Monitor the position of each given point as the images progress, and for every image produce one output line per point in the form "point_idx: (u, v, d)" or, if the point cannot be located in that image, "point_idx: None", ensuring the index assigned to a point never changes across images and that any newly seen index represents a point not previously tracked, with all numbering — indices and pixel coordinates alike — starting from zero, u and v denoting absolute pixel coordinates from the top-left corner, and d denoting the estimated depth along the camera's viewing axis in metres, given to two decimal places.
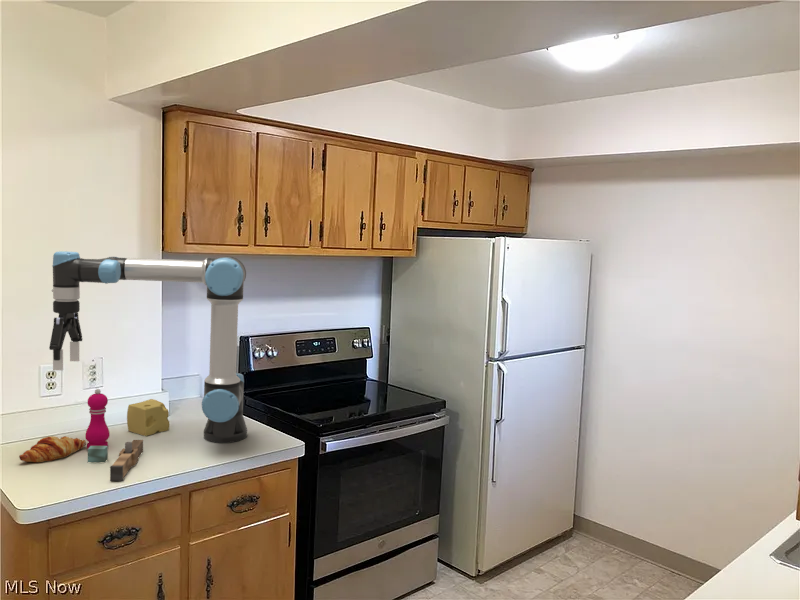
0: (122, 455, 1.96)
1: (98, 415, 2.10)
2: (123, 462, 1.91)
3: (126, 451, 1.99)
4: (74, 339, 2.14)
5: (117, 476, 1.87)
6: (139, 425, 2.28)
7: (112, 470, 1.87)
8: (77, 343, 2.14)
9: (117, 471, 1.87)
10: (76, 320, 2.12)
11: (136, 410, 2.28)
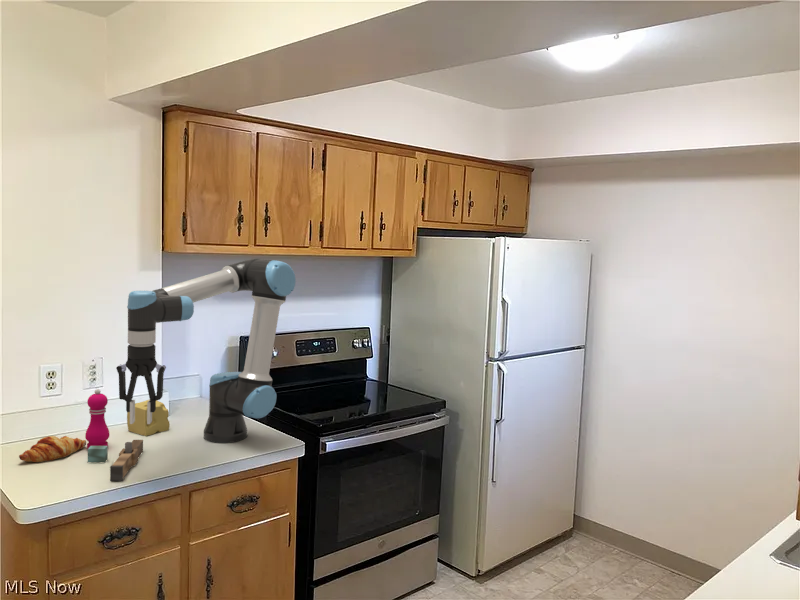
0: (122, 455, 1.96)
1: (98, 415, 2.10)
2: (123, 462, 1.91)
3: (126, 451, 1.99)
4: None
5: (117, 476, 1.87)
6: (139, 425, 2.28)
7: (112, 470, 1.87)
8: None
9: (117, 471, 1.87)
10: (158, 374, 1.88)
11: (136, 410, 2.28)
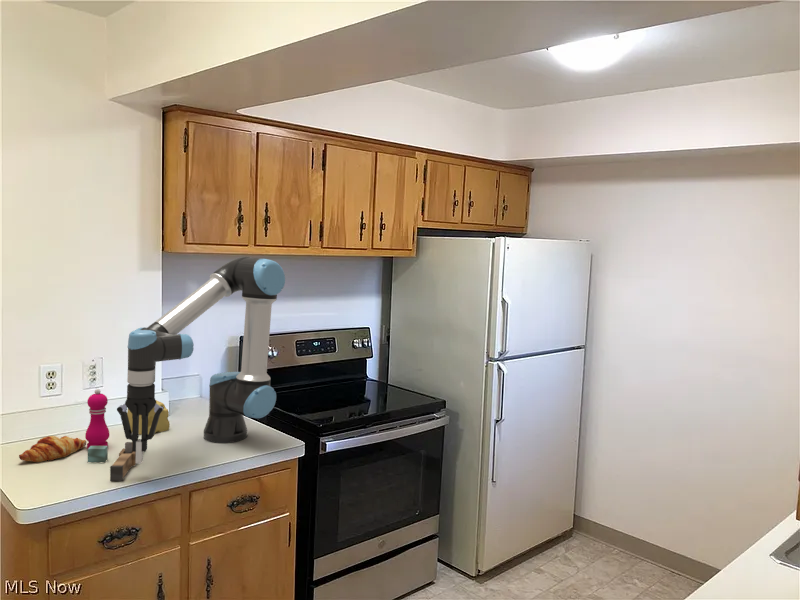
0: (122, 455, 1.96)
1: (98, 415, 2.10)
2: (123, 462, 1.91)
3: (126, 451, 1.99)
4: None
5: (117, 476, 1.87)
6: (139, 425, 2.28)
7: (112, 470, 1.87)
8: None
9: (117, 471, 1.87)
10: None
11: None
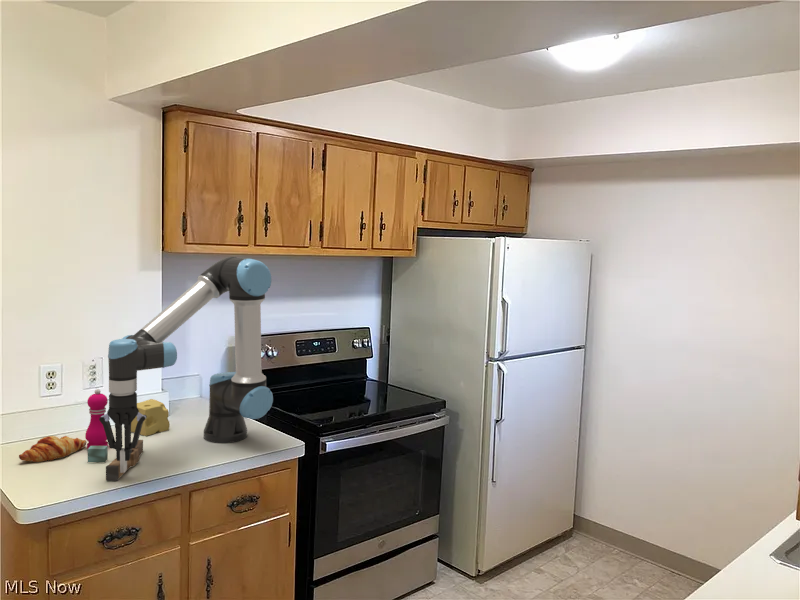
0: None
1: (98, 415, 2.10)
2: None
3: None
4: None
5: (112, 476, 1.87)
6: None
7: (108, 470, 1.87)
8: None
9: (112, 471, 1.87)
10: (137, 423, 1.88)
11: None
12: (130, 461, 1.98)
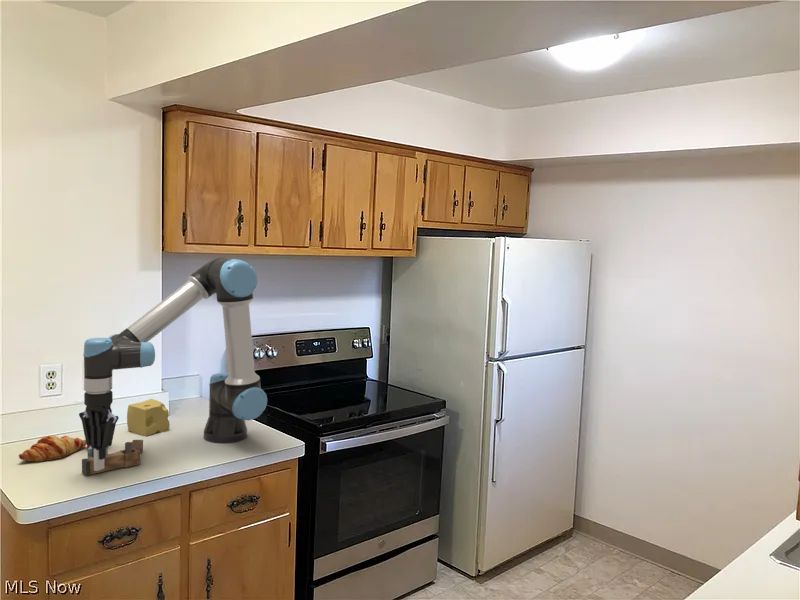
0: (115, 453, 1.98)
1: None
2: None
3: (126, 451, 1.99)
4: None
5: (84, 470, 1.90)
6: (139, 425, 2.28)
7: (82, 463, 1.91)
8: None
9: (84, 465, 1.90)
10: None
11: (136, 410, 2.28)
12: (122, 461, 1.97)
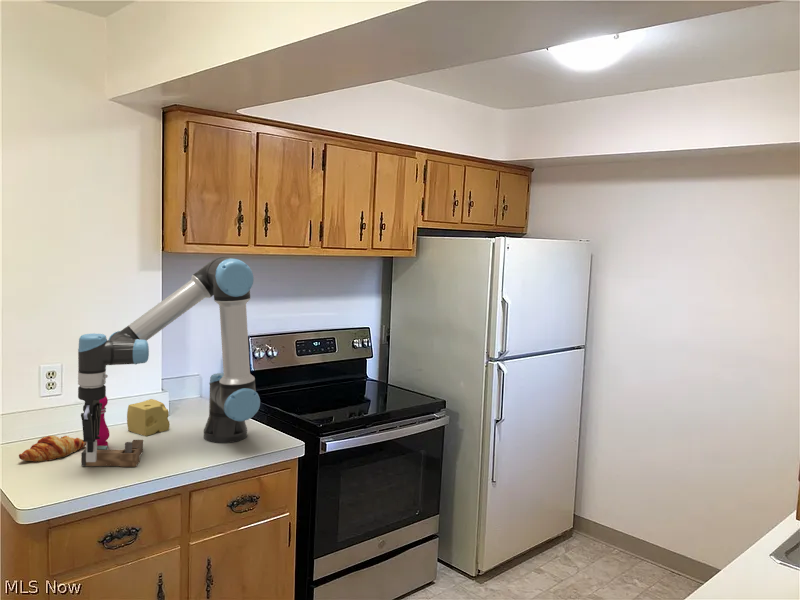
0: (117, 450, 2.00)
1: None
2: None
3: (126, 451, 1.99)
4: None
5: None
6: (139, 425, 2.28)
7: None
8: None
9: None
10: None
11: (136, 410, 2.28)
12: (118, 460, 1.98)
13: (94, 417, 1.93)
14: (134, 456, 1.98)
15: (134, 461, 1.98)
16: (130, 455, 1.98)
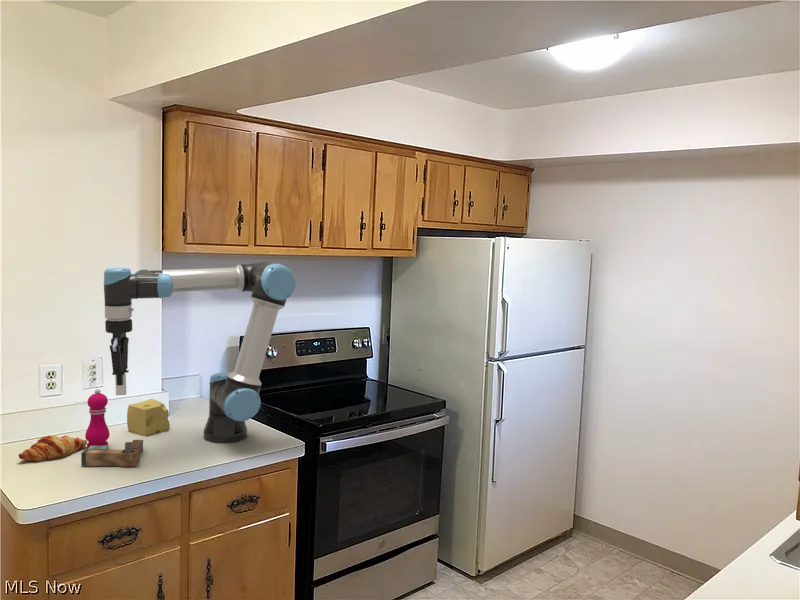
0: (117, 450, 2.00)
1: (98, 415, 2.10)
2: (95, 452, 1.97)
3: (126, 451, 1.99)
4: None
5: None
6: (139, 425, 2.28)
7: None
8: None
9: None
10: None
11: (136, 410, 2.28)
12: (118, 460, 1.98)
13: (122, 350, 1.95)
14: (134, 456, 1.98)
15: (134, 461, 1.98)
16: (130, 455, 1.98)
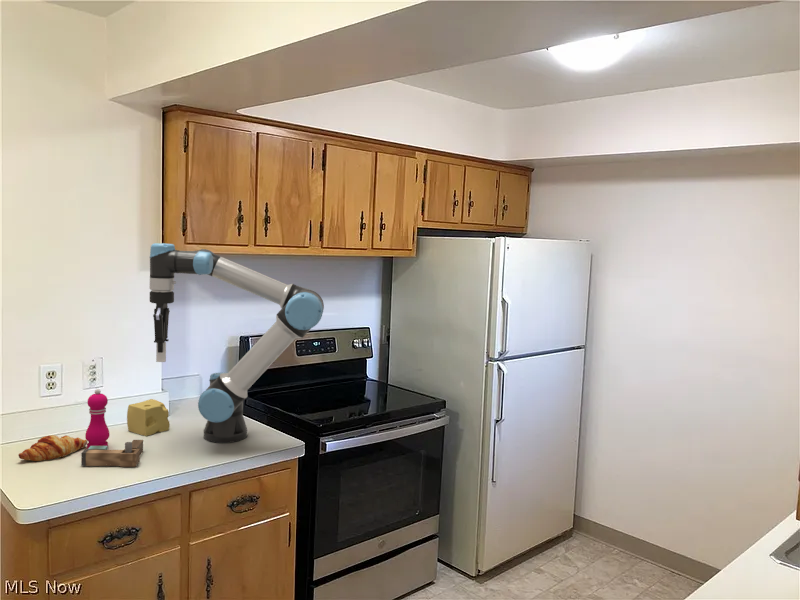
0: (117, 450, 2.00)
1: (98, 415, 2.10)
2: (95, 452, 1.97)
3: (126, 451, 1.99)
4: None
5: None
6: (139, 425, 2.28)
7: None
8: None
9: None
10: None
11: (136, 410, 2.28)
12: (118, 460, 1.98)
13: (164, 319, 2.10)
14: (134, 456, 1.98)
15: (134, 461, 1.98)
16: (130, 455, 1.98)
